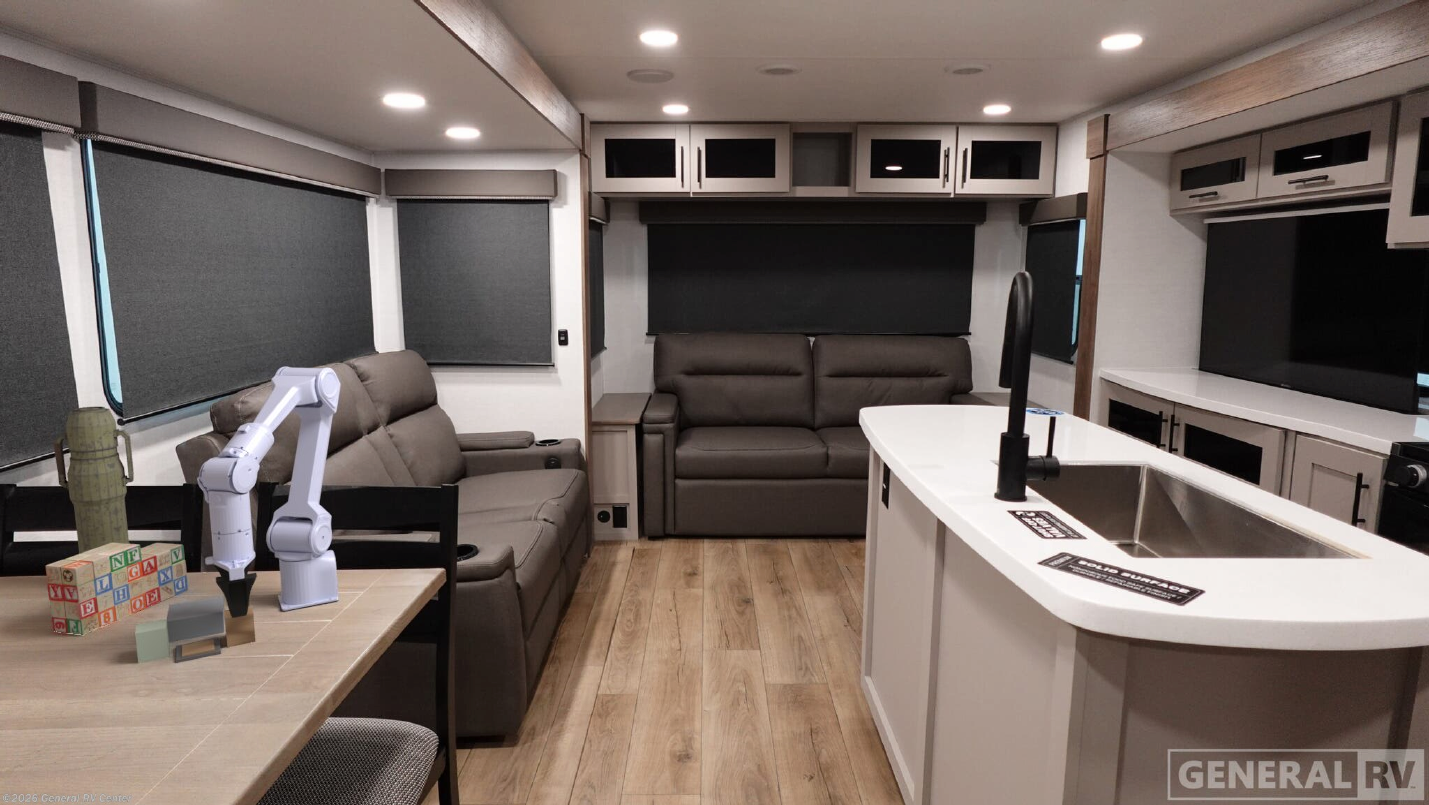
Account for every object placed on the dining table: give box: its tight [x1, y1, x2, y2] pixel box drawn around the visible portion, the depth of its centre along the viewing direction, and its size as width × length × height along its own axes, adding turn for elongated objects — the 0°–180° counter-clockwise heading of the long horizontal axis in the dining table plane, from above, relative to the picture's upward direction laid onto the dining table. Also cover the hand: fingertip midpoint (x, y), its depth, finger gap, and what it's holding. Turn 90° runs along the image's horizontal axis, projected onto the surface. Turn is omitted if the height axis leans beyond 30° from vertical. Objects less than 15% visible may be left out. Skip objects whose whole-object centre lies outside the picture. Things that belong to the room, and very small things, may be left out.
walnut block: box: [224, 604, 257, 648], centre depth 134 cm, size 4×4×5 cm
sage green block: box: [134, 618, 170, 664], centre depth 128 cm, size 4×4×5 cm
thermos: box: [52, 406, 135, 554], centre depth 156 cm, size 9×12×35 cm
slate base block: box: [166, 595, 225, 644], centre depth 138 cm, size 8×8×4 cm
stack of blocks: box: [45, 542, 189, 635], centre depth 145 cm, size 21×6×12 cm, turn 168°
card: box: [175, 637, 222, 664], centre depth 130 cm, size 6×6×1 cm
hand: (237, 608), depth 133 cm, fingers open, 7 cm apart
